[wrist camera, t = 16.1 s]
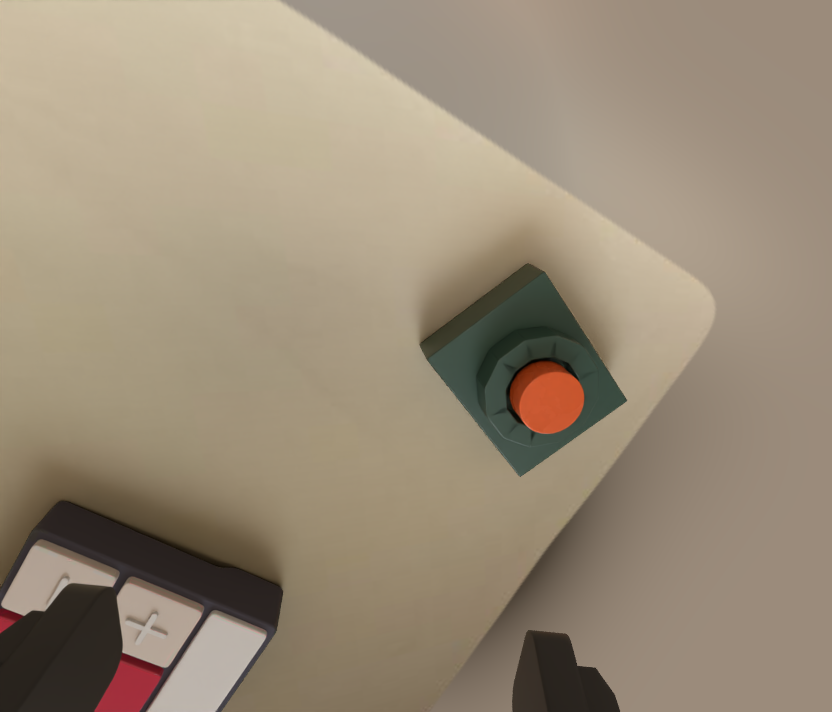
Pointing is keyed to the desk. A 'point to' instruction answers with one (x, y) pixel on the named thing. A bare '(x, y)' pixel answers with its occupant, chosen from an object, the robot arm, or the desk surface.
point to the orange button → (546, 397)
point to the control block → (519, 363)
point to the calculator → (150, 610)
